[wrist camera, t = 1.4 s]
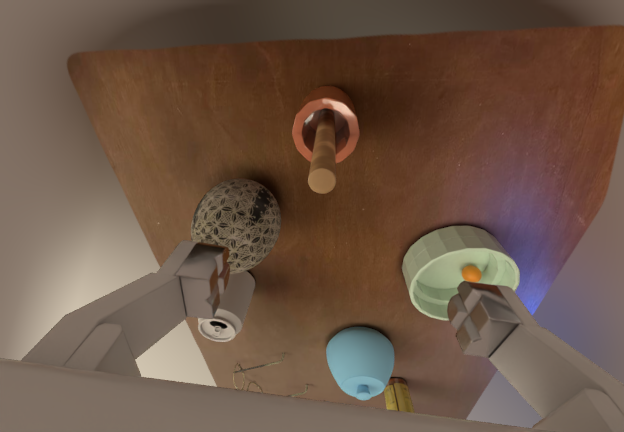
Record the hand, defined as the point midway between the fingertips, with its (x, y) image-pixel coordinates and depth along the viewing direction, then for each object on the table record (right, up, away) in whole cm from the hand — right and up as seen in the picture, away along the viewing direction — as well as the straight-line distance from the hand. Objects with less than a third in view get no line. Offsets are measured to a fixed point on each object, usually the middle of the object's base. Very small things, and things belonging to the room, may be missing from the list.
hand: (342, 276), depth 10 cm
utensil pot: (+1, +16, +27) cm, 31 cm away
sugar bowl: (+10, -27, +54) cm, 62 cm away
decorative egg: (-11, +5, +35) cm, 37 cm away
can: (-16, -10, +45) cm, 49 cm away
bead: (+26, -8, +38) cm, 47 cm away
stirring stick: (+1, +15, +27) cm, 31 cm away
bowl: (+23, -6, +39) cm, 46 cm away
